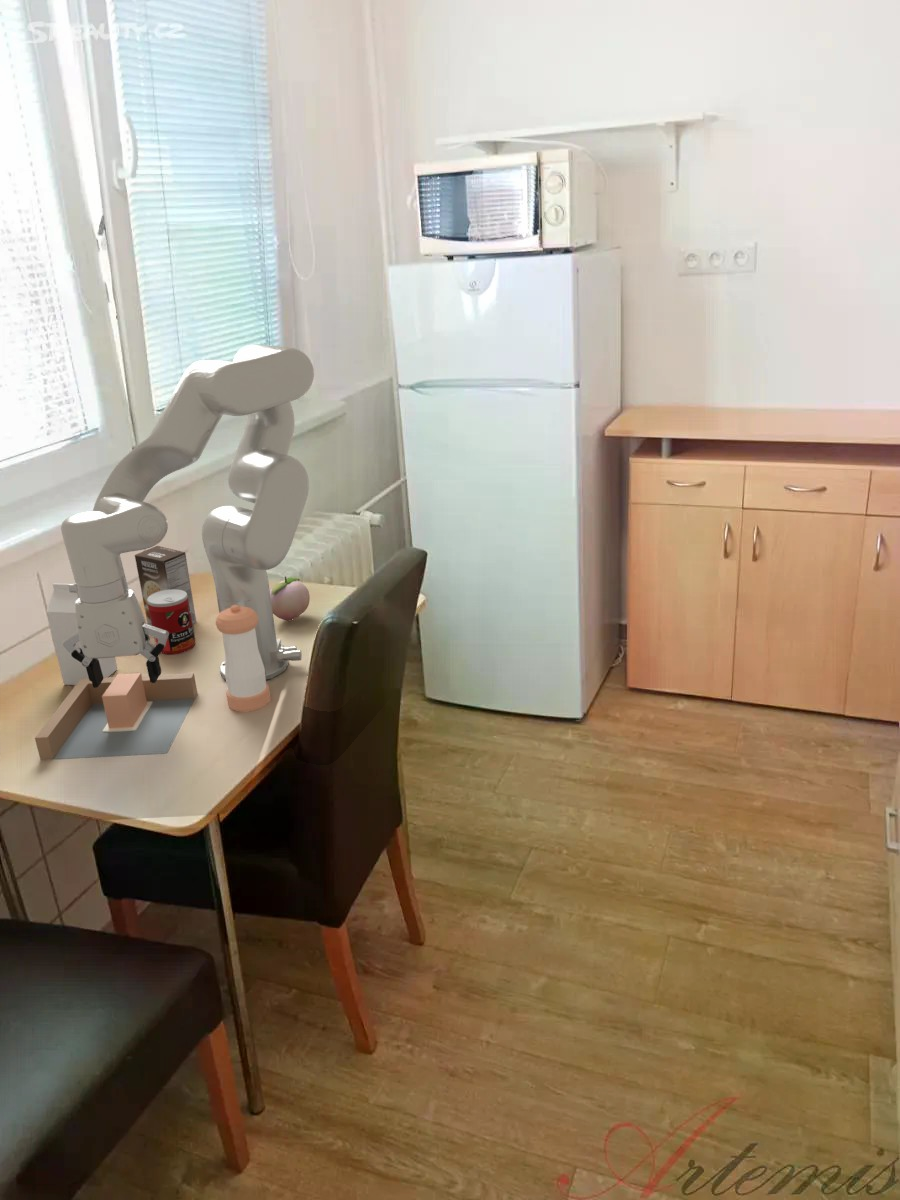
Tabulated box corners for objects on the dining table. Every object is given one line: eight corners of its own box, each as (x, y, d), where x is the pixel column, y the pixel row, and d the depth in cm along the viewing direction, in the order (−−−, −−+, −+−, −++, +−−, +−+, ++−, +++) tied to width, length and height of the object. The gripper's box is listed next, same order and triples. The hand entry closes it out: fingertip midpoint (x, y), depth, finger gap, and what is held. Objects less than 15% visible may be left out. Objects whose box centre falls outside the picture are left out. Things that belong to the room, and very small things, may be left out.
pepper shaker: (234, 697, 163) (218, 598, 156) (275, 696, 163) (261, 596, 156) (224, 718, 157) (207, 615, 149) (266, 716, 156) (251, 613, 149)
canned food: (175, 658, 180) (166, 606, 176) (147, 650, 184) (137, 599, 180) (204, 643, 186) (195, 592, 182) (176, 635, 190) (167, 586, 186)
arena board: (198, 698, 164) (193, 672, 162) (168, 759, 145) (162, 731, 143) (86, 704, 164) (80, 678, 162) (42, 766, 145) (34, 737, 143)
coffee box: (146, 625, 196) (132, 554, 190) (169, 614, 201) (156, 545, 195) (175, 633, 191) (162, 560, 185) (198, 622, 196) (186, 551, 190)
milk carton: (98, 687, 170) (76, 592, 163) (63, 685, 171) (41, 591, 164) (118, 669, 176) (98, 577, 169) (84, 668, 178) (64, 576, 171)
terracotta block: (132, 727, 153) (126, 695, 150) (108, 728, 153) (101, 696, 150) (147, 703, 160) (140, 672, 158) (124, 704, 160) (117, 674, 158)
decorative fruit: (300, 631, 189) (294, 586, 185) (264, 628, 191) (258, 583, 187) (319, 613, 197) (314, 570, 193) (285, 610, 199) (279, 567, 196)
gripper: (40, 602, 144) (68, 696, 151) (149, 593, 144) (172, 688, 151) (58, 583, 151) (84, 674, 158) (162, 575, 151) (183, 666, 158)
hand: (127, 681), depth 155 cm, fingers open, 9 cm apart
